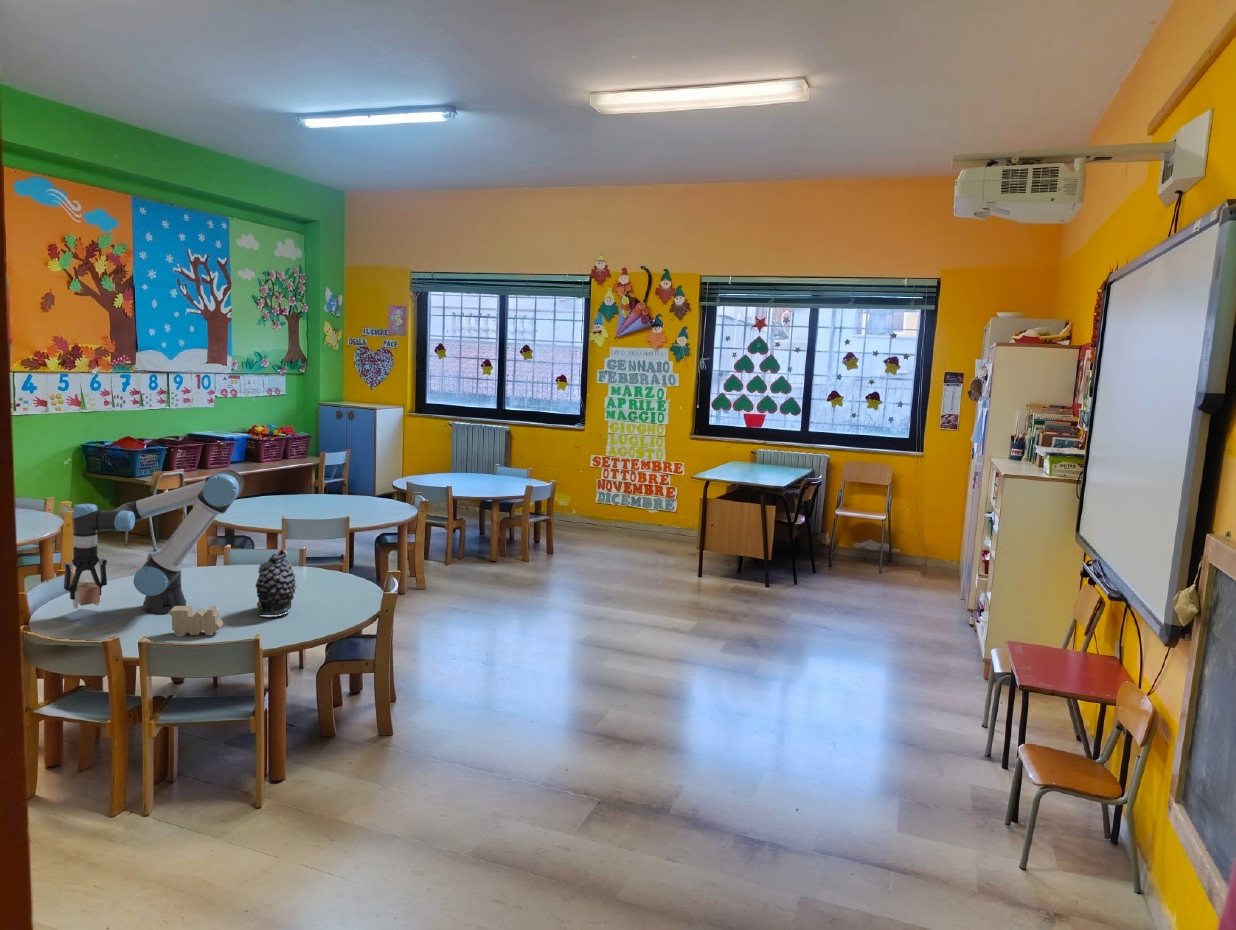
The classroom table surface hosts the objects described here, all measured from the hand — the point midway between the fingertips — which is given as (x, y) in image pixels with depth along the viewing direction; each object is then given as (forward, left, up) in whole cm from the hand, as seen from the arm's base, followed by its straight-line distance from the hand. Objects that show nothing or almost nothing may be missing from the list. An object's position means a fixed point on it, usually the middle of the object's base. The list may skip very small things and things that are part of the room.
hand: (85, 605), depth 303 cm
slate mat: (+1, -2, -6) cm, 6 cm away
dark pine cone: (-56, -34, -6) cm, 66 cm away
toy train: (-45, -2, -6) cm, 46 cm away
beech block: (+6, -3, +5) cm, 8 cm away
